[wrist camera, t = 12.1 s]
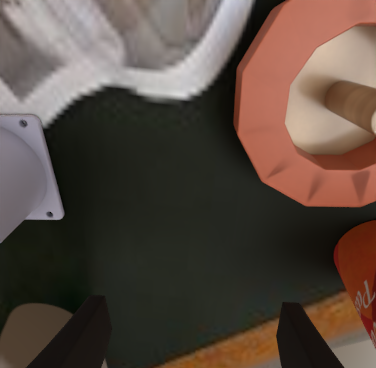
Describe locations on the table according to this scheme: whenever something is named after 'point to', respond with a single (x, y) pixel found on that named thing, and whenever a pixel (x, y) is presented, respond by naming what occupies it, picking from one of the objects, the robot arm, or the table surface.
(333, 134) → the post
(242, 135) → the ring
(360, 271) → the coffee cup
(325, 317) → the table surface
